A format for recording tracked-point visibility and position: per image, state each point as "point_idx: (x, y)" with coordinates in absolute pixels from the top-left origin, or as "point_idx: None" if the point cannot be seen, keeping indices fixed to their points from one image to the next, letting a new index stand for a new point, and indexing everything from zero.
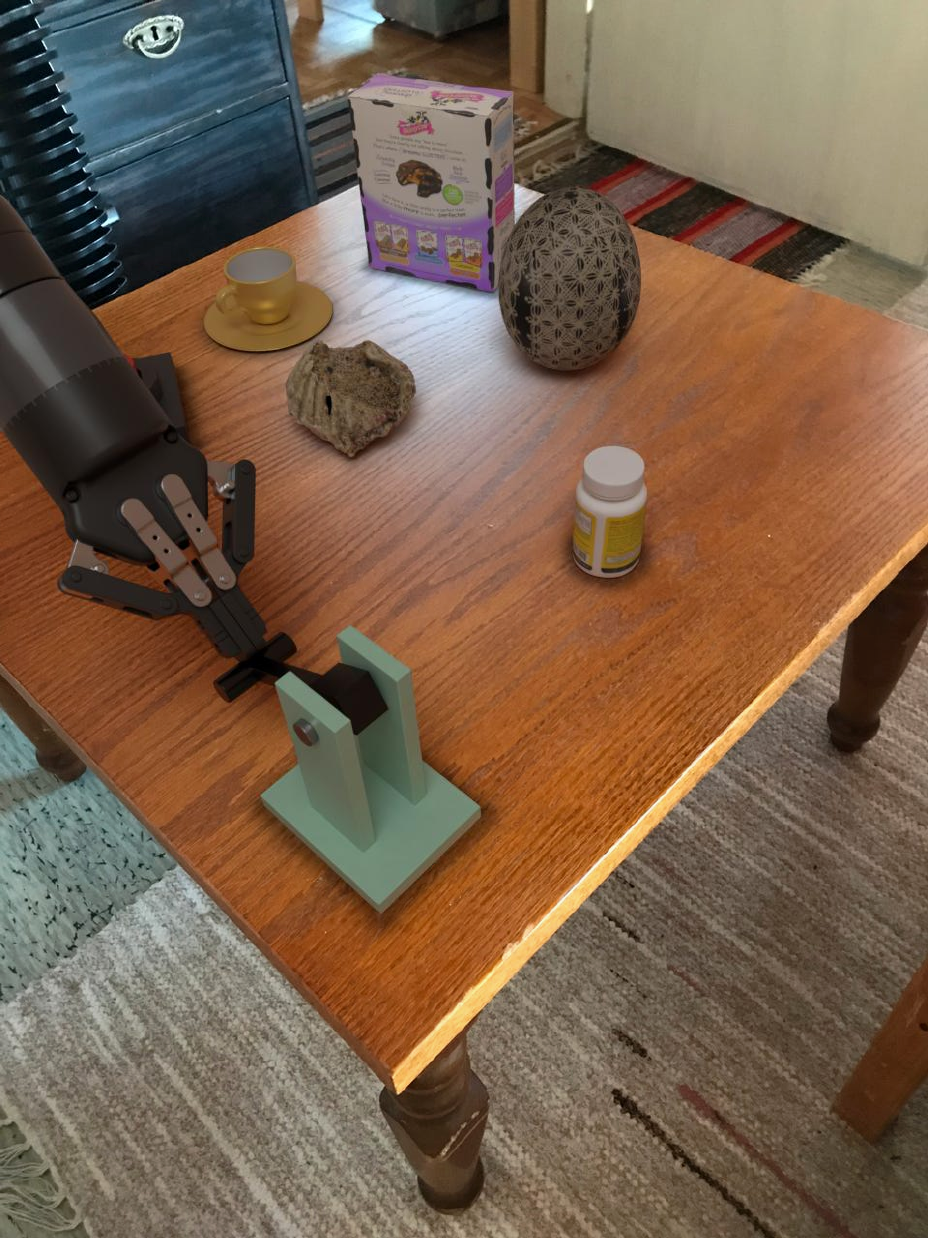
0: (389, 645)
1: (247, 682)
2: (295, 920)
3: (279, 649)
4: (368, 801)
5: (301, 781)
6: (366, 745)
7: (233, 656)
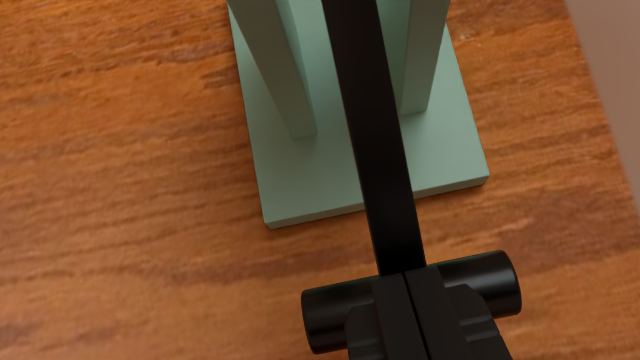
0: (138, 349)
1: (447, 261)
2: (520, 4)
3: (341, 293)
4: None
5: (418, 159)
6: (305, 85)
7: (465, 284)
